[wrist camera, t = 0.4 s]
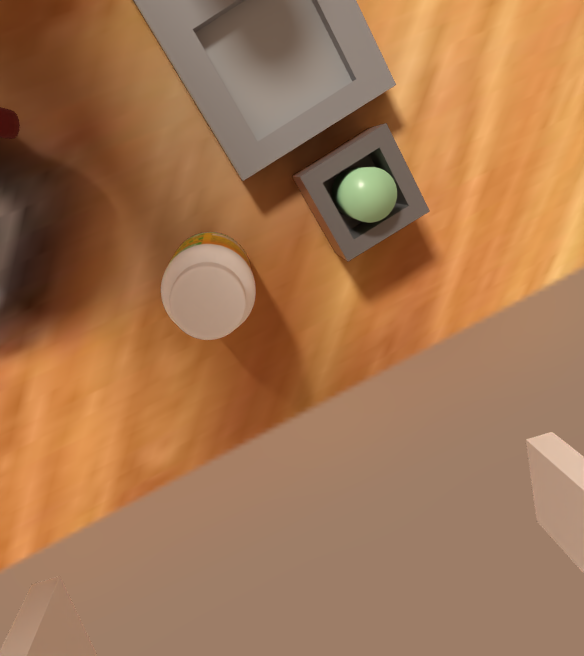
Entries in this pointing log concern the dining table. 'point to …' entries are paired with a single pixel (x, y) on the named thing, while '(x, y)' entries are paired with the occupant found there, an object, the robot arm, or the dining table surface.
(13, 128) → the mug
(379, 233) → the grey square holder
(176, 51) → the grey slotted tray
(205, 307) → the supplement bottle
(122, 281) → the dining table surface
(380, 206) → the light green egg
